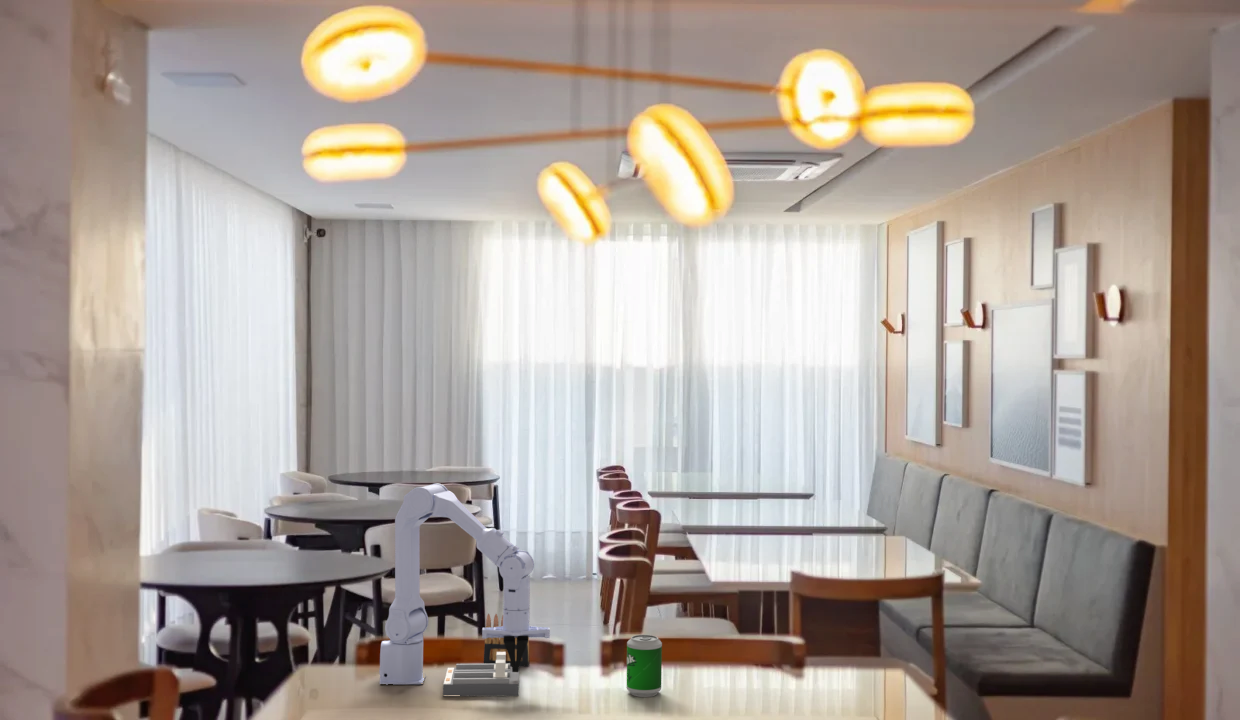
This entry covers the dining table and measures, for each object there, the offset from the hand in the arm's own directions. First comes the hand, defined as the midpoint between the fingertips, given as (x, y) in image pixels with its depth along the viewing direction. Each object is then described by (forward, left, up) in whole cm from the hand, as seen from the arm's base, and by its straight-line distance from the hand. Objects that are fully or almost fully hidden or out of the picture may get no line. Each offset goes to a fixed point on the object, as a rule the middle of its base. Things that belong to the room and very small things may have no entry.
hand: (515, 671), depth 258 cm
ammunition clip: (-2, +22, -5) cm, 23 cm away
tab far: (-3, +7, -2) cm, 8 cm away
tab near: (-3, 0, -2) cm, 4 cm away
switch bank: (-7, +3, -4) cm, 9 cm away
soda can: (+28, -3, -5) cm, 28 cm away
